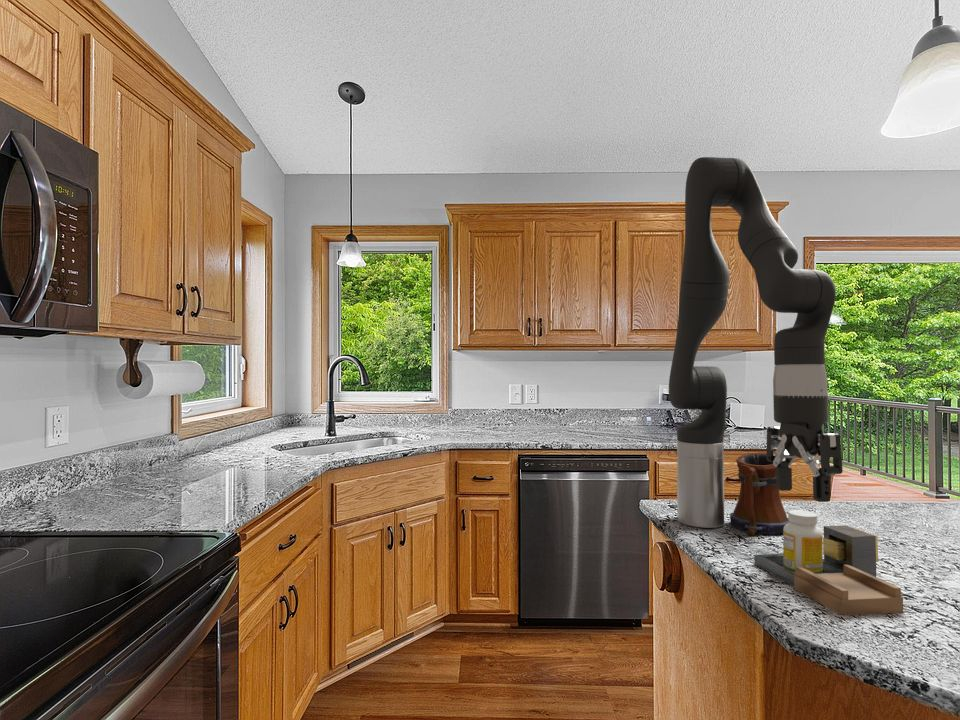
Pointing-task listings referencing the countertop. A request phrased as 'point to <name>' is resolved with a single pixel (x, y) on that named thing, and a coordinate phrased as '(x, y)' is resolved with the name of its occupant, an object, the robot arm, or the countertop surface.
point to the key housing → (854, 548)
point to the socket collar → (773, 566)
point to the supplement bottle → (802, 542)
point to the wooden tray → (849, 591)
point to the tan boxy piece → (840, 547)
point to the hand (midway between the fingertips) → (802, 495)
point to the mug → (758, 497)
